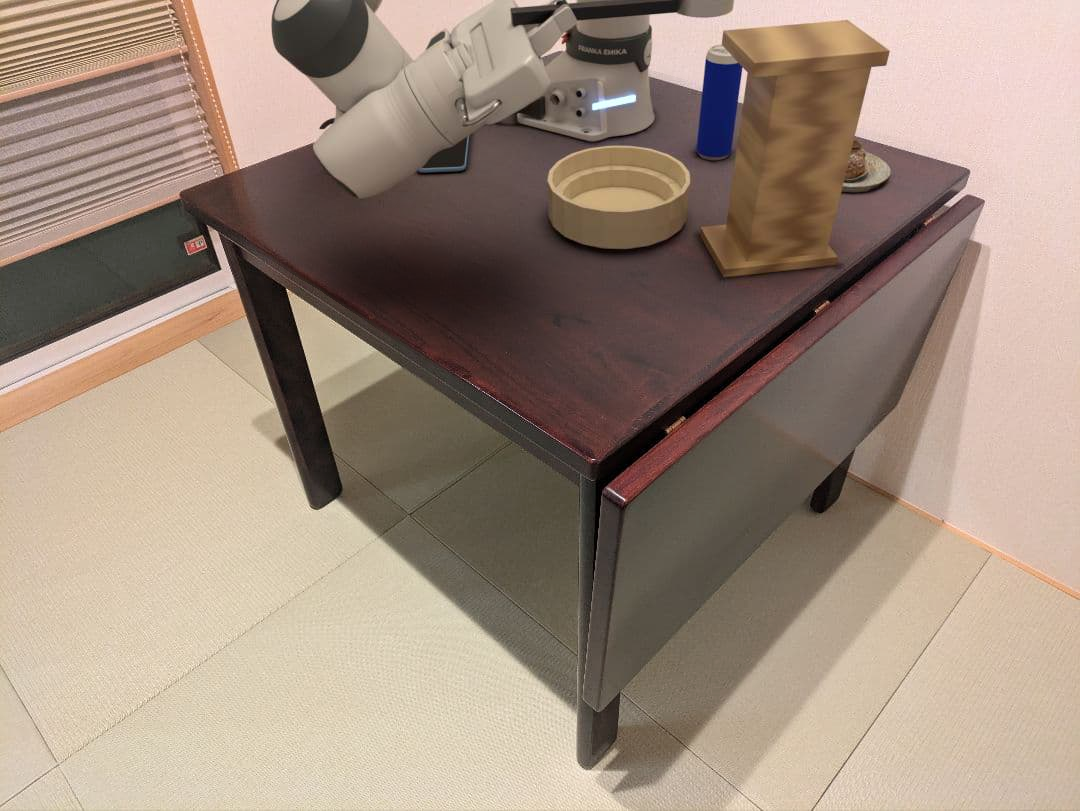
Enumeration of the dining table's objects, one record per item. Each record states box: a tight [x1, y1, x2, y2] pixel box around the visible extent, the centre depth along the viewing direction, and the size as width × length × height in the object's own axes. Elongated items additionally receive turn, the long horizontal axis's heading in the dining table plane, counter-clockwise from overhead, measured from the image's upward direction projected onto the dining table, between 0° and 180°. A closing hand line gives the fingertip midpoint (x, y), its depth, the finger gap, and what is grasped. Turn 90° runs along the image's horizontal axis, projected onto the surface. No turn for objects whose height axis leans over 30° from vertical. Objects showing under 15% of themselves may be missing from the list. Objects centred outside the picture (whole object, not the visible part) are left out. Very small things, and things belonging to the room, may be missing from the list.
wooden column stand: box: [699, 19, 891, 278], centre depth 90 cm, size 14×10×25 cm
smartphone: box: [417, 135, 470, 174], centre depth 122 cm, size 7×1×15 cm
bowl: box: [546, 145, 691, 250], centre depth 104 cm, size 18×18×6 cm
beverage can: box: [695, 44, 744, 161], centre depth 114 cm, size 5×5×15 cm
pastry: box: [841, 140, 892, 193], centre depth 111 cm, size 12×12×5 cm
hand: (570, 7), depth 77 cm, fingers closed
